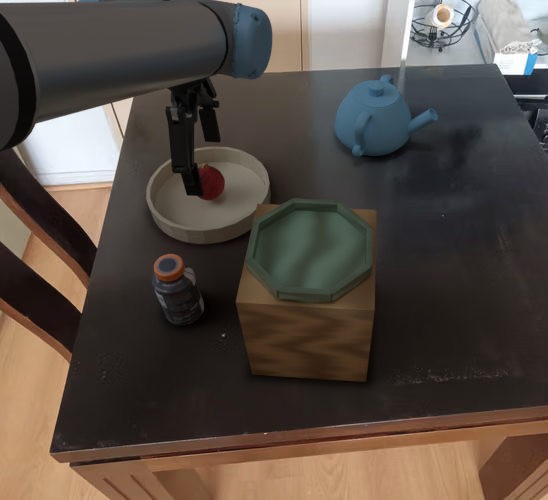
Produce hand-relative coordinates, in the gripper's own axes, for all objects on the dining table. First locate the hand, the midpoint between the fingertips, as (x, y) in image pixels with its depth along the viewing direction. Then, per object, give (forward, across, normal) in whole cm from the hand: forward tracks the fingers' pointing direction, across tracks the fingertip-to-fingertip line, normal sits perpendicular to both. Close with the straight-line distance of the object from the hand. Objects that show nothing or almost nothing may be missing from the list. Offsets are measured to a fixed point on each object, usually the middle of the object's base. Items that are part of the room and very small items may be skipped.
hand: (204, 166), depth 92 cm
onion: (+8, 0, 0) cm, 8 cm away
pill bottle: (+8, -24, -1) cm, 26 cm away
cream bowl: (+8, 0, 0) cm, 8 cm away
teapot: (+8, +19, -31) cm, 37 cm away
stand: (+8, -26, -21) cm, 34 cm away
